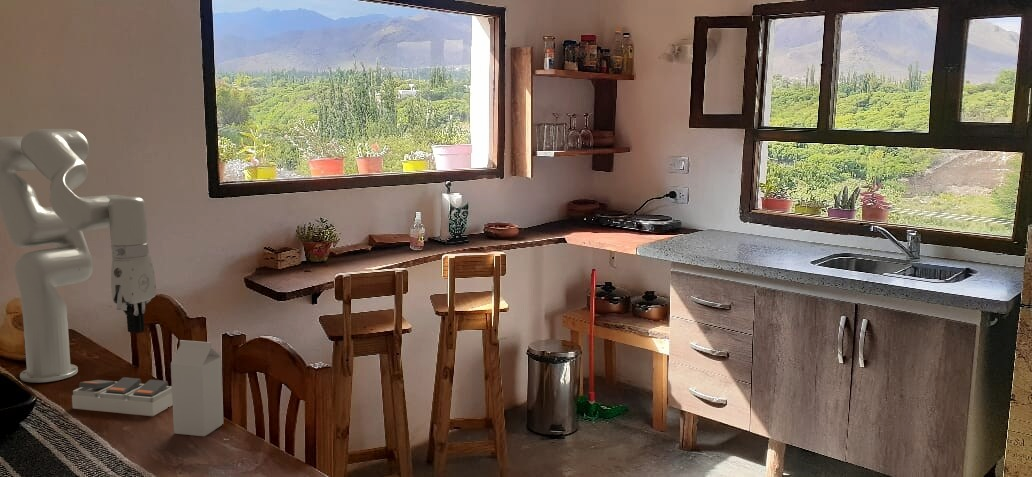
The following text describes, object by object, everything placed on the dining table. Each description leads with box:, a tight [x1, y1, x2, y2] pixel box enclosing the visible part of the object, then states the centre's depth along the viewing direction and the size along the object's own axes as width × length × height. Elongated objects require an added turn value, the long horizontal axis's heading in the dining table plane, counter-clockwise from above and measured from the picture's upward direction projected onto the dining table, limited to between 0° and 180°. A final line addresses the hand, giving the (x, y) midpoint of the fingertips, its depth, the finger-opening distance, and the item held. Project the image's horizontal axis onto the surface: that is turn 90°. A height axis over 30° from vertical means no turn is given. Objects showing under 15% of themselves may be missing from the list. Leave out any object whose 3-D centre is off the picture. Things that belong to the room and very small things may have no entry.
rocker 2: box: [106, 376, 142, 394], centre depth 184 cm, size 4×6×1 cm
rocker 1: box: [78, 379, 116, 389], centre depth 186 cm, size 4×6×1 cm
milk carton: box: [170, 339, 224, 437], centre depth 170 cm, size 7×7×19 cm
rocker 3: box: [133, 379, 169, 397], centre depth 183 cm, size 4×6×1 cm
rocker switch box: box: [71, 380, 173, 417], centre depth 185 cm, size 20×8×4 cm, turn 79°
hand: (136, 331), depth 187 cm, fingers closed
